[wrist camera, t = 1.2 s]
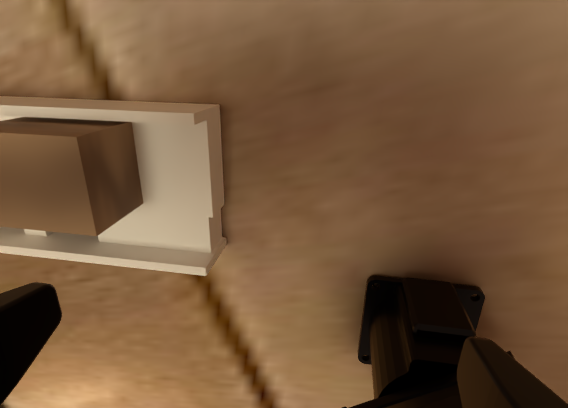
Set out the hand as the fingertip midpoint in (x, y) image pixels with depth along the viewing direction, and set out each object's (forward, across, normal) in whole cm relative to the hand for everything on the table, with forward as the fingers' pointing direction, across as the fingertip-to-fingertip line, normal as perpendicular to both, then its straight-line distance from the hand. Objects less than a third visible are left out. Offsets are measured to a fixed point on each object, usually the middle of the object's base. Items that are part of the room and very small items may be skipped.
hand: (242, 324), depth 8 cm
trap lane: (+13, +16, +1) cm, 20 cm away
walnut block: (+11, +12, 0) cm, 16 cm away
